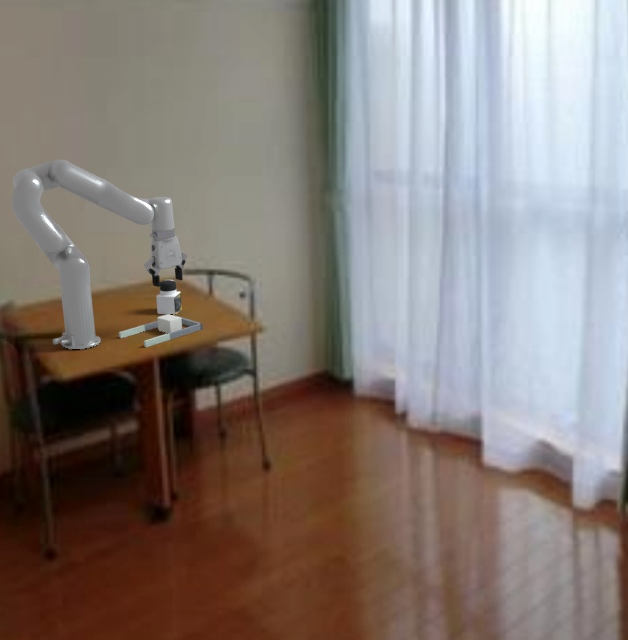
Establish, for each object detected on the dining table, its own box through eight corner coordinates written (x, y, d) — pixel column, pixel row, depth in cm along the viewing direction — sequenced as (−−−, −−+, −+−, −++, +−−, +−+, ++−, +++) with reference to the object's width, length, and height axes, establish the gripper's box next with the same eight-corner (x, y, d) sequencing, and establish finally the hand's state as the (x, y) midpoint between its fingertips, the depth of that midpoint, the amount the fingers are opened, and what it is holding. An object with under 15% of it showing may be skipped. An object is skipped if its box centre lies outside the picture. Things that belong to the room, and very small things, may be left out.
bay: (146, 347, 279) (145, 341, 278) (119, 337, 289) (118, 332, 288) (202, 329, 296) (202, 323, 295) (175, 320, 306) (175, 315, 305)
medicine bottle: (175, 315, 312) (173, 283, 309) (157, 314, 314) (154, 283, 310) (182, 309, 319) (180, 278, 315) (164, 308, 320) (162, 278, 317)
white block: (170, 335, 291) (169, 321, 290) (158, 330, 296) (157, 317, 294) (182, 331, 295) (181, 317, 293) (169, 327, 299) (168, 313, 298)
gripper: (149, 240, 276) (154, 290, 281) (190, 230, 288) (194, 279, 293) (135, 237, 281) (140, 286, 286) (176, 228, 293) (180, 275, 298)
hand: (168, 282), depth 290 cm, fingers open, 9 cm apart
